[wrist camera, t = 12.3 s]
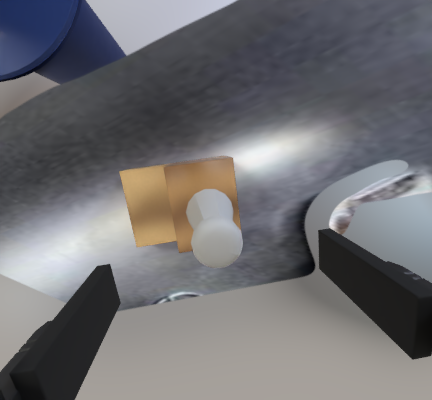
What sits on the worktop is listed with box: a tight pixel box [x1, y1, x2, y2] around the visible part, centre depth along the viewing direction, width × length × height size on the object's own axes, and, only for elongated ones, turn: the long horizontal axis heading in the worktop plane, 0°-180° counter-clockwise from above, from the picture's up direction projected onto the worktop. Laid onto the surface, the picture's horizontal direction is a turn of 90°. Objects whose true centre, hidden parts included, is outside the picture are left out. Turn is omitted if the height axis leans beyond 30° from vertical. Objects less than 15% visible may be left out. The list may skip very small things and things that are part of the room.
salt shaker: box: [186, 189, 243, 268], centre depth 24 cm, size 6×6×13 cm
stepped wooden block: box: [120, 156, 241, 253], centre depth 34 cm, size 12×16×8 cm
